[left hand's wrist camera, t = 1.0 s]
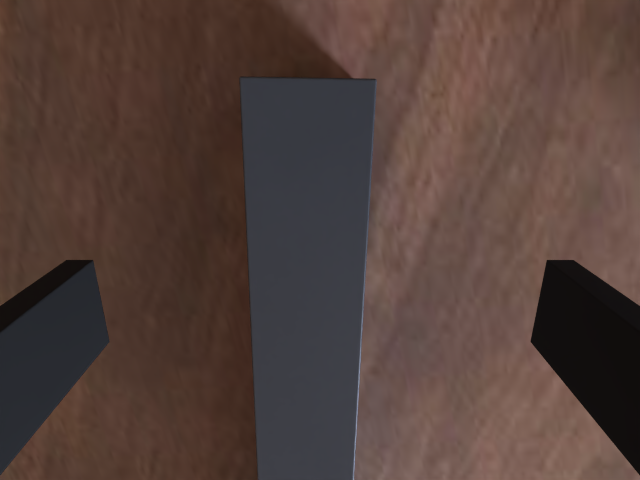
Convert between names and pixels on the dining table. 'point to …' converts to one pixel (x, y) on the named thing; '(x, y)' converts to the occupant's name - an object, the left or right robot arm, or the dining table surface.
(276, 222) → the bar
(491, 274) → the dining table surface
